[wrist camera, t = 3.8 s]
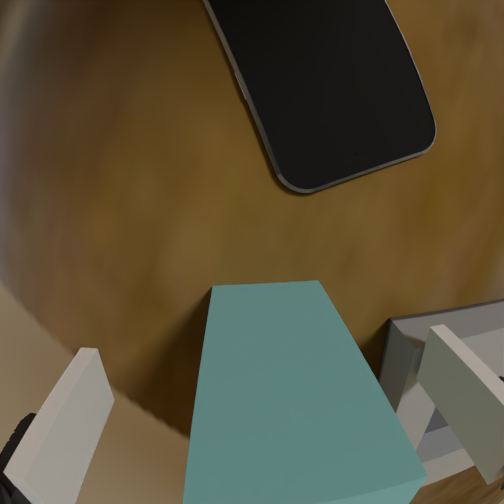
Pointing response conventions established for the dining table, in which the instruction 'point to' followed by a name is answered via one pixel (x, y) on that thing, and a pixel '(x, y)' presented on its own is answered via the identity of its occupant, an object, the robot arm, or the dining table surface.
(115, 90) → the dining table surface
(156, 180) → the dining table surface
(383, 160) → the smartphone
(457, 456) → the grey slotted tray
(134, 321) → the dining table surface
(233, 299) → the block
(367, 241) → the dining table surface
